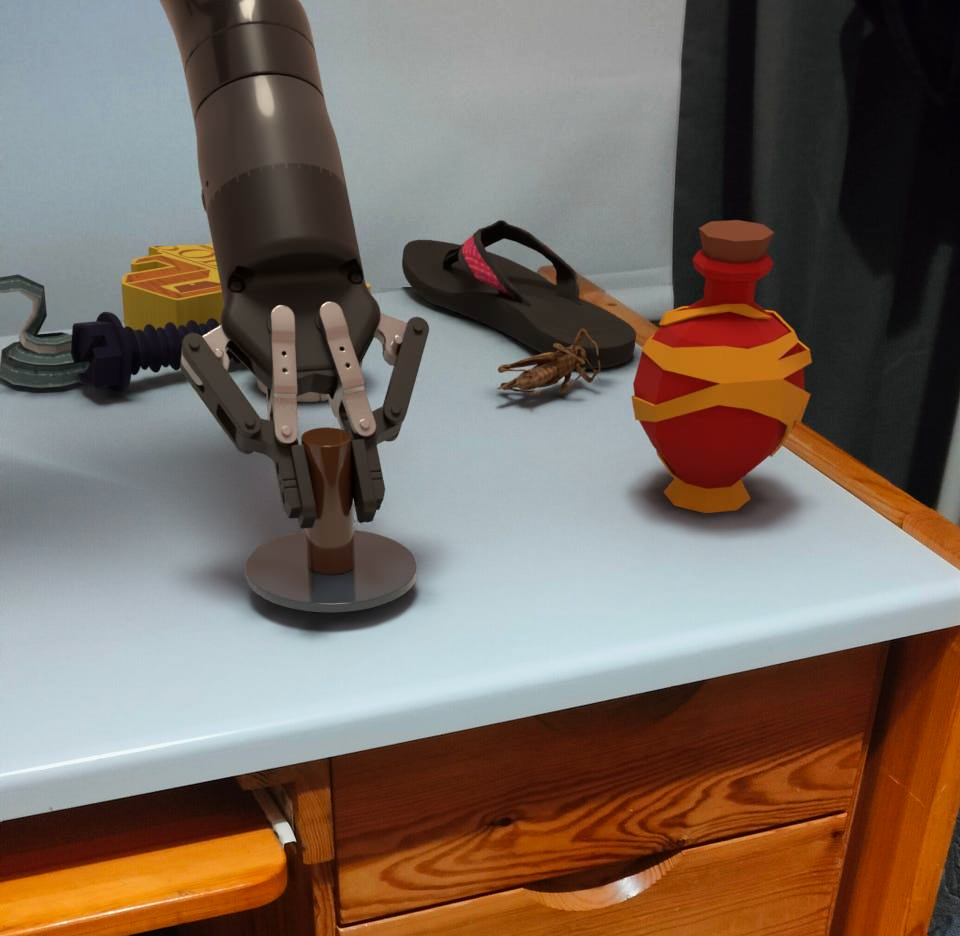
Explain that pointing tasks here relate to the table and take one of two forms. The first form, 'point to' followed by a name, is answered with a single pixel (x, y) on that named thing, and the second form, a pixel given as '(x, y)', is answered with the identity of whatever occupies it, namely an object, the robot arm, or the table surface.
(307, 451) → the lid
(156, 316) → the decorative sign
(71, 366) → the stylized snake
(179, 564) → the table surface
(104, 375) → the screw
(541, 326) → the sandal
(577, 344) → the insect
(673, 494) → the potion bottle
